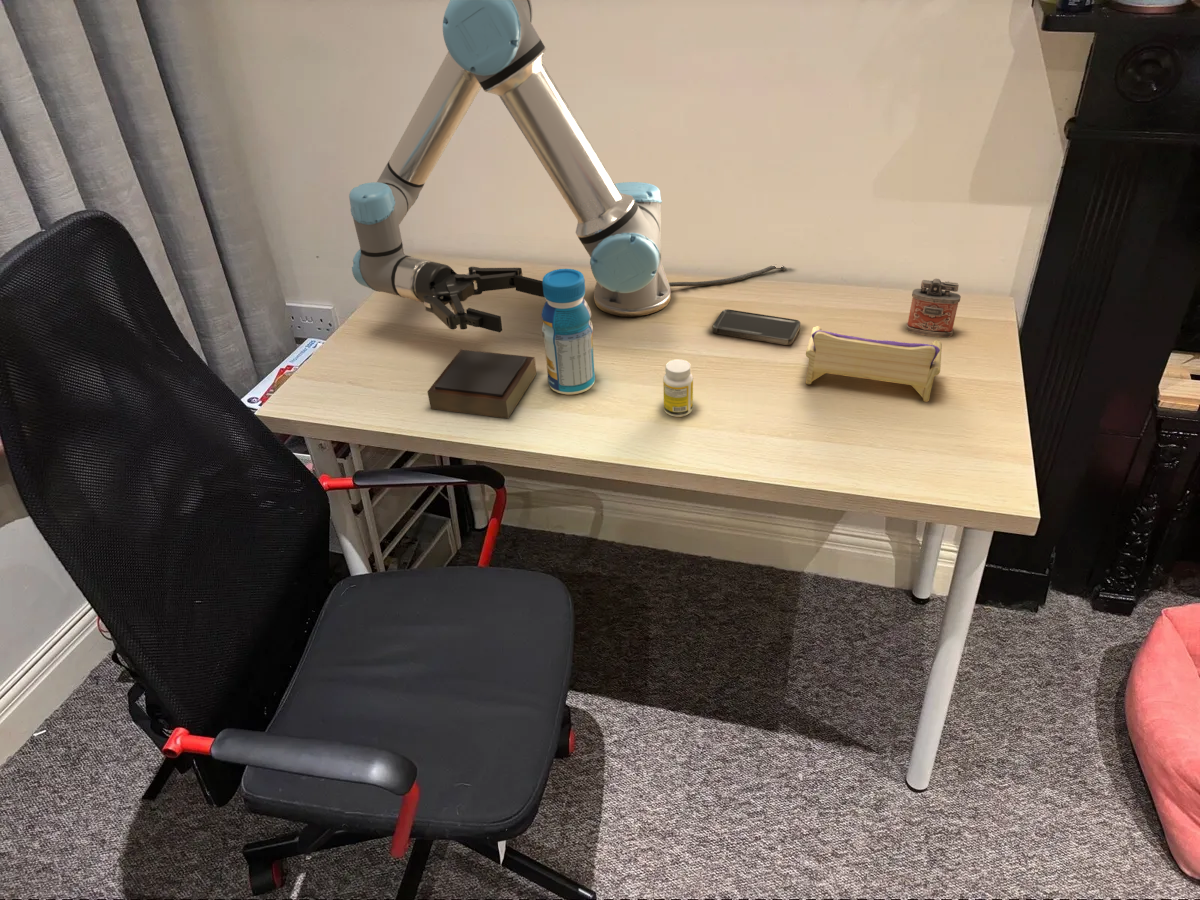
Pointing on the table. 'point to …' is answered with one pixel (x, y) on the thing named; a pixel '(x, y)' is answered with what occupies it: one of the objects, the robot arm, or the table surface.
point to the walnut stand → (482, 383)
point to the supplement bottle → (678, 388)
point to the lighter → (933, 308)
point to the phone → (756, 327)
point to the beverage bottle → (567, 332)
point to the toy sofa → (874, 360)
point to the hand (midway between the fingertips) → (524, 306)
